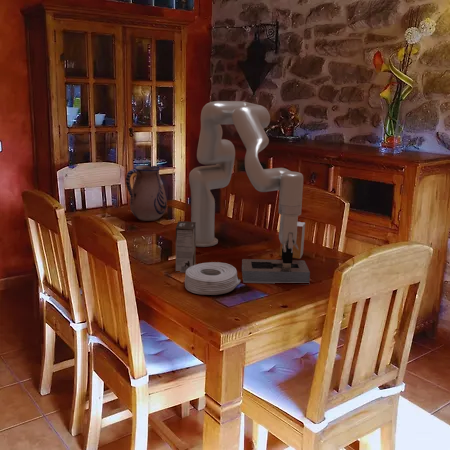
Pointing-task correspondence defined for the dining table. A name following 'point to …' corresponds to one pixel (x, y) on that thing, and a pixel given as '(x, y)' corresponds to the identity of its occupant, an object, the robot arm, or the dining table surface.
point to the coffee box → (185, 245)
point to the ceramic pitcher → (146, 193)
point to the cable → (211, 278)
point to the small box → (298, 241)
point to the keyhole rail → (274, 271)
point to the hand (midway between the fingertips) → (286, 261)
